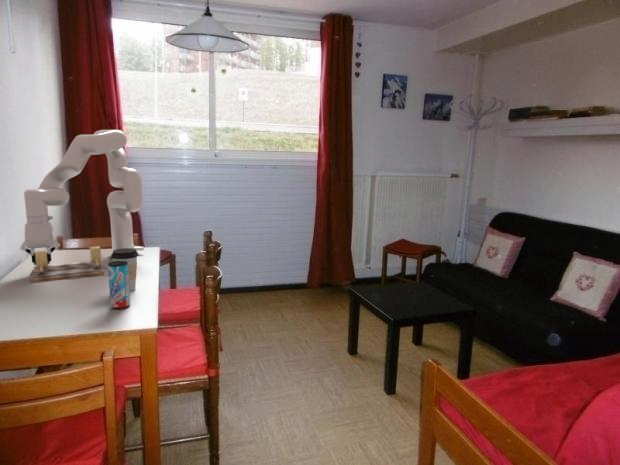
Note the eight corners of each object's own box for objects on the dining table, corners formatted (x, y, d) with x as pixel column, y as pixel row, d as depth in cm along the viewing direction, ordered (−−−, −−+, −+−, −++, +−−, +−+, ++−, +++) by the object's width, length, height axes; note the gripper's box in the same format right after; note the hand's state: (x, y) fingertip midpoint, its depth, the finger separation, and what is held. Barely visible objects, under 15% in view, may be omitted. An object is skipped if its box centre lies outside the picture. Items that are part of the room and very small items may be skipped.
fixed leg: (101, 261, 193) (99, 246, 191) (102, 267, 184) (101, 251, 182) (90, 262, 191) (89, 247, 190) (92, 268, 182) (91, 252, 181)
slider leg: (48, 266, 183) (46, 250, 182) (47, 272, 174) (45, 255, 173) (37, 267, 181) (35, 251, 180) (35, 273, 172) (34, 256, 171)
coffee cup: (123, 295, 156) (121, 254, 153) (107, 290, 161) (104, 251, 158) (145, 289, 164) (143, 250, 161) (129, 284, 169) (127, 246, 166)
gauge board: (101, 265, 195) (100, 258, 194) (103, 274, 181) (103, 267, 181) (32, 272, 182) (31, 265, 182) (29, 282, 169) (28, 274, 168)
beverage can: (108, 306, 145) (104, 262, 142) (126, 302, 149) (123, 260, 147) (115, 311, 141) (112, 266, 138) (133, 307, 145) (130, 263, 142)
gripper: (61, 217, 184) (65, 259, 187) (13, 219, 176) (18, 263, 179) (61, 219, 178) (65, 263, 181) (12, 222, 170) (17, 268, 173)
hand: (42, 263), depth 180 cm, fingers closed on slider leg, 4 cm apart
